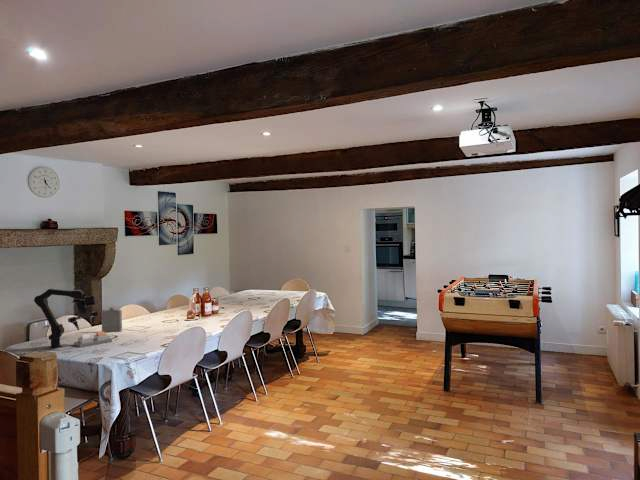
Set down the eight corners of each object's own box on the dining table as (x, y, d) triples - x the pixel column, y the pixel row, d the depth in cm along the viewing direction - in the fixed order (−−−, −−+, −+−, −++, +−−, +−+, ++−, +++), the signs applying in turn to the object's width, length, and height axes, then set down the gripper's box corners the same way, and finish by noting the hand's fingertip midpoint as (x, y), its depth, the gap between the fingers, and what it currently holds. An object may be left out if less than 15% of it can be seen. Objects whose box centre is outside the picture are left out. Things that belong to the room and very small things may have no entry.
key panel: (74, 344, 324) (74, 337, 324) (105, 339, 340) (105, 332, 340) (80, 347, 316) (80, 340, 316) (112, 341, 332) (111, 335, 332)
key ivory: (80, 339, 324) (80, 335, 324) (87, 338, 328) (87, 334, 328) (82, 340, 321) (82, 336, 320) (90, 339, 324) (90, 335, 324)
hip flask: (101, 332, 365) (100, 307, 365) (103, 331, 369) (102, 307, 369) (121, 331, 366) (120, 307, 366) (123, 330, 370) (122, 306, 370)
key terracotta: (96, 336, 332) (96, 332, 332) (103, 335, 336) (103, 331, 336) (98, 337, 329) (98, 333, 329) (105, 336, 332) (105, 332, 332)
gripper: (70, 311, 309) (75, 333, 310) (98, 304, 322) (102, 325, 323) (65, 310, 317) (70, 332, 318) (93, 304, 330) (97, 324, 331)
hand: (85, 328), depth 322 cm, fingers open, 9 cm apart
